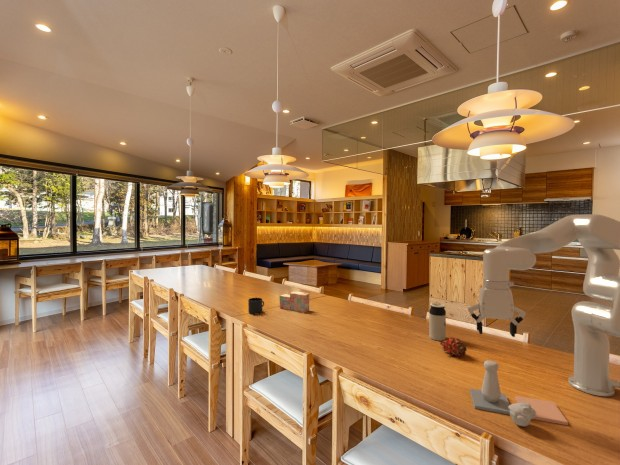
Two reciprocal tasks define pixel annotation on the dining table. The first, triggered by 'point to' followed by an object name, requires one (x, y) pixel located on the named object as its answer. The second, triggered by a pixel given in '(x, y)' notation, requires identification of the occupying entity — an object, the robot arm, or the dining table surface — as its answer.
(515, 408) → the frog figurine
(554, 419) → the terracotta tile
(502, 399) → the slate tile
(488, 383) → the salt shaker
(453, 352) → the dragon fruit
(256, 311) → the mug
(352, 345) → the dining table surface
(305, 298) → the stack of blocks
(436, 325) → the travel mug
